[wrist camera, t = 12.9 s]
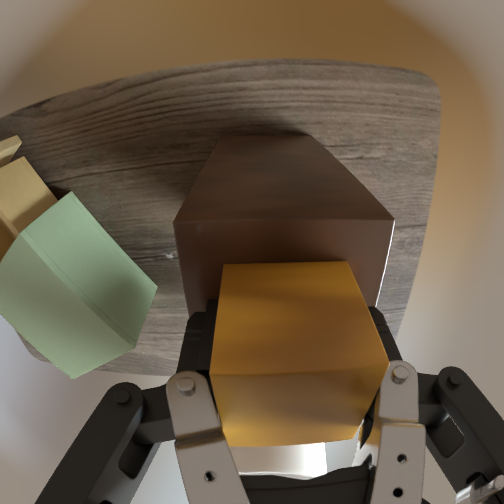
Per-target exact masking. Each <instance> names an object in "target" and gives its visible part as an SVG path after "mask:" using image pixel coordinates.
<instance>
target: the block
mask: <svg viewBox="0 0 504 504" xmlns="http://www.w3.org/2000/svg"><path fill="white" fill-rule="evenodd" d="M389 365H390V362H389V359H388V357H387V354H386V352H385V349H384V347H383V344H382V341H381V339H380V336H379V334H378V331H377V329H376V327H375V324H374V322H373V319H372V317H371V314H370V312H369V310H368V307H367V305H366V303H365V300H364V298H363V296H362V293H361V291H360V289H359V287H358V284H357V282H356V280H355V278H354V275H353V273H352V271H351V269H350V267H349V264H348V262H347V261H331V262H293V263H248V264H224V266H223V273H222V280H221V287H220V294H219V302H218V309H217V317H216V324H215V332H214V340H213V348H212V356H211V364H210V372H209V375H210V379H211V384H212V389H213V393H214V398H215V402H216V406H217V411H218V415H219V419H220V423H221V427H222V430H223V432H224V434H225V437H226V440H227V443H228V446H229V447H264V446H288V445H303V444H315V443H324V442H333V441H341V440H348V439H352V438H353V437H354V435H355V434H356V432H357V430H358V428H359V426H360V425H361V423H362V421H363V419H364V417H365V415H366V413H367V411H368V409H369V407H370V405H371V403H372V401H373V399H374V397H375V395H376V393H377V391H378V389H379V387H380V385H381V383H382V380H383V378H384V376H385V374H386V372H387V369H388V367H389Z"/></svg>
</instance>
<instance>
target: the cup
mask: <svg viewBox="0 0 504 504" xmlns="http://www.w3.org/2000/svg"><path fill="white" fill-rule="evenodd" d="M218 418H219V415H218ZM219 421H220V419H219ZM220 424H221V423H220ZM229 448H230V451H231V454H232V457H233V460H234V462H235V465H236V468H237V471H238V473H239V476H240V475H276V476H282V477H288V478H295V479H302V480H308V479H312V478H315V477H318V476H321V475H323V474H326V473H327V470H326V457H325V447H324V443H315V444H303V445H288V446H264V447H229Z"/></svg>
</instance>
